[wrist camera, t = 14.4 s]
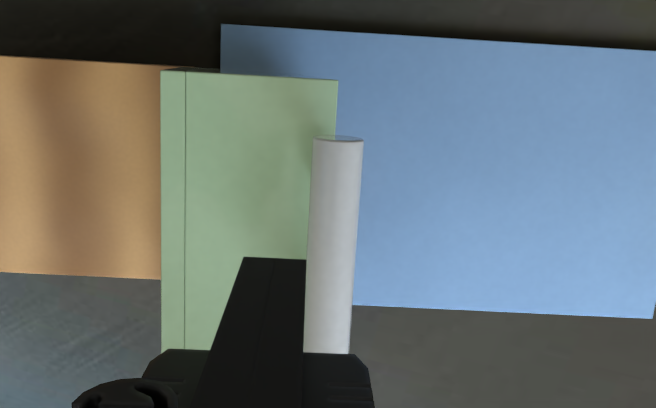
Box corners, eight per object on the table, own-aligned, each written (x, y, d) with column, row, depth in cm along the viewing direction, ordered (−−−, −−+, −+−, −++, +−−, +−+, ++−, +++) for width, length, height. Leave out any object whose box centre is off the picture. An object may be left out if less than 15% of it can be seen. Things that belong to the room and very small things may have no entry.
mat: (217, 296, 36) (216, 298, 36) (222, 24, 33) (220, 23, 32) (649, 316, 37) (652, 319, 37) (699, 54, 34) (704, 53, 33)
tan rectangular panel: (195, 66, 33) (182, 66, 30) (194, 260, 36) (181, 280, 32) (-12, 54, 33) (-50, 52, 29) (1, 251, 35) (-32, 270, 32)
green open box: (181, 66, 30) (306, 73, 31) (180, 281, 32) (295, 280, 33) (150, 71, 16) (374, 83, 17) (152, 441, 19) (348, 431, 20)
